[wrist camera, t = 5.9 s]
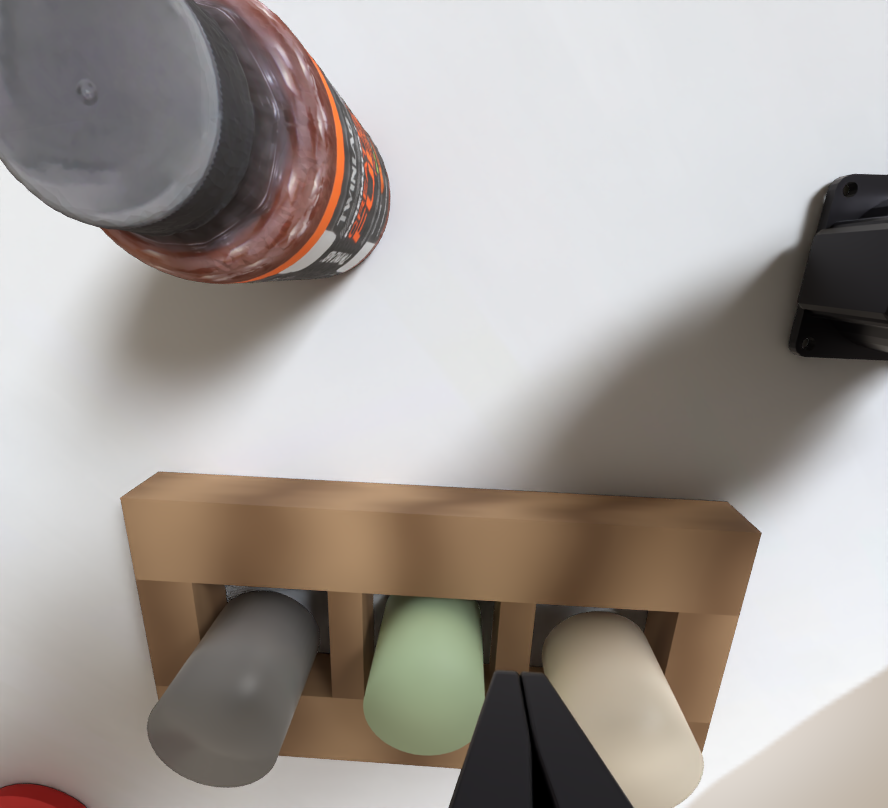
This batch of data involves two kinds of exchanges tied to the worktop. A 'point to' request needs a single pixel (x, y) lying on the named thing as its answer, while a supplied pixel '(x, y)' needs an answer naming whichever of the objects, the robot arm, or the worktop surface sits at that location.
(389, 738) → the pale green cylinder
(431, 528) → the wooden compartment tray
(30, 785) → the canned food
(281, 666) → the grey short cylinder
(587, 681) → the cream cylinder
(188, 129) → the supplement bottle
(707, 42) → the worktop surface
